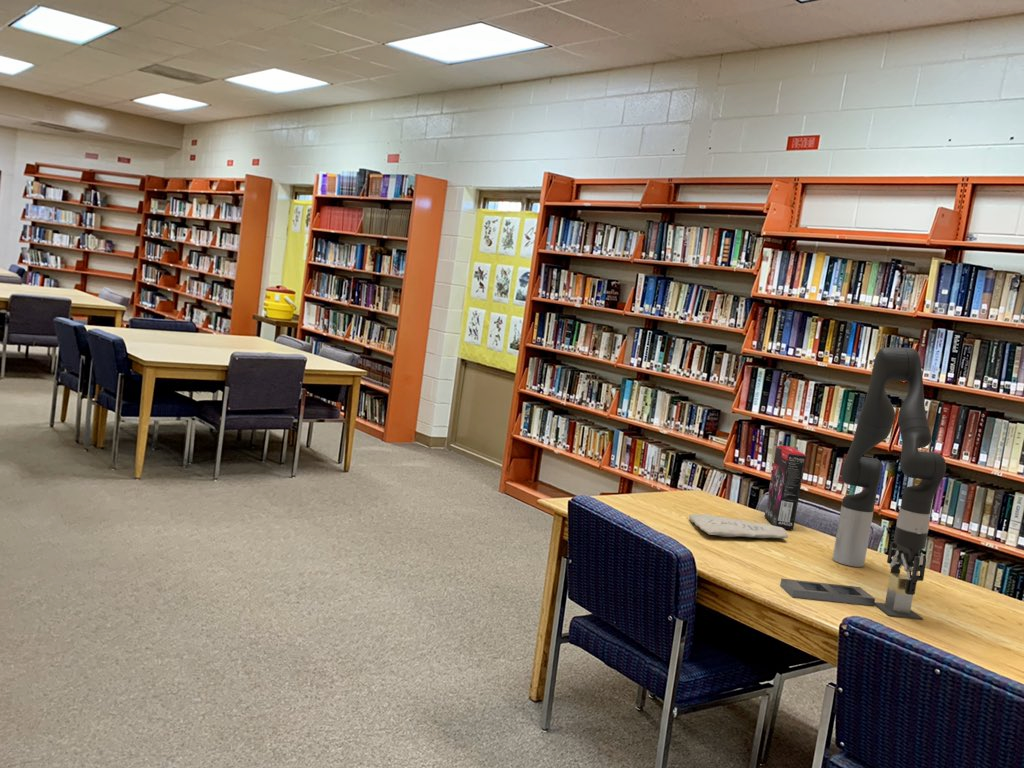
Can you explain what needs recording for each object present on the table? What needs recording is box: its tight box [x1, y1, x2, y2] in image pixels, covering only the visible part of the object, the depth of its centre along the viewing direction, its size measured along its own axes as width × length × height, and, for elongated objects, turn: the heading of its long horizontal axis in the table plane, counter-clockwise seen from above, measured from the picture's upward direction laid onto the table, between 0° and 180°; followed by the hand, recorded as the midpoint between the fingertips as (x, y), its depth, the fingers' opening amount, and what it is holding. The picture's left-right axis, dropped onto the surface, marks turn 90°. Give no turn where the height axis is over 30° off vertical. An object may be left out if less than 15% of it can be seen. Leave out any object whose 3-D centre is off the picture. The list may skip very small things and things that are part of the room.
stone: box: [688, 513, 789, 539], centre depth 286 cm, size 25×5×30 cm
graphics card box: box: [764, 445, 807, 531], centre depth 307 cm, size 17×7×27 cm, turn 178°
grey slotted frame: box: [779, 578, 876, 607], centre depth 230 cm, size 9×22×2 cm, turn 92°
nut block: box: [885, 573, 914, 614], centre depth 223 cm, size 4×4×9 cm
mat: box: [874, 601, 924, 621], centre depth 224 cm, size 9×9×1 cm
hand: (901, 588), depth 223 cm, fingers open, 8 cm apart
